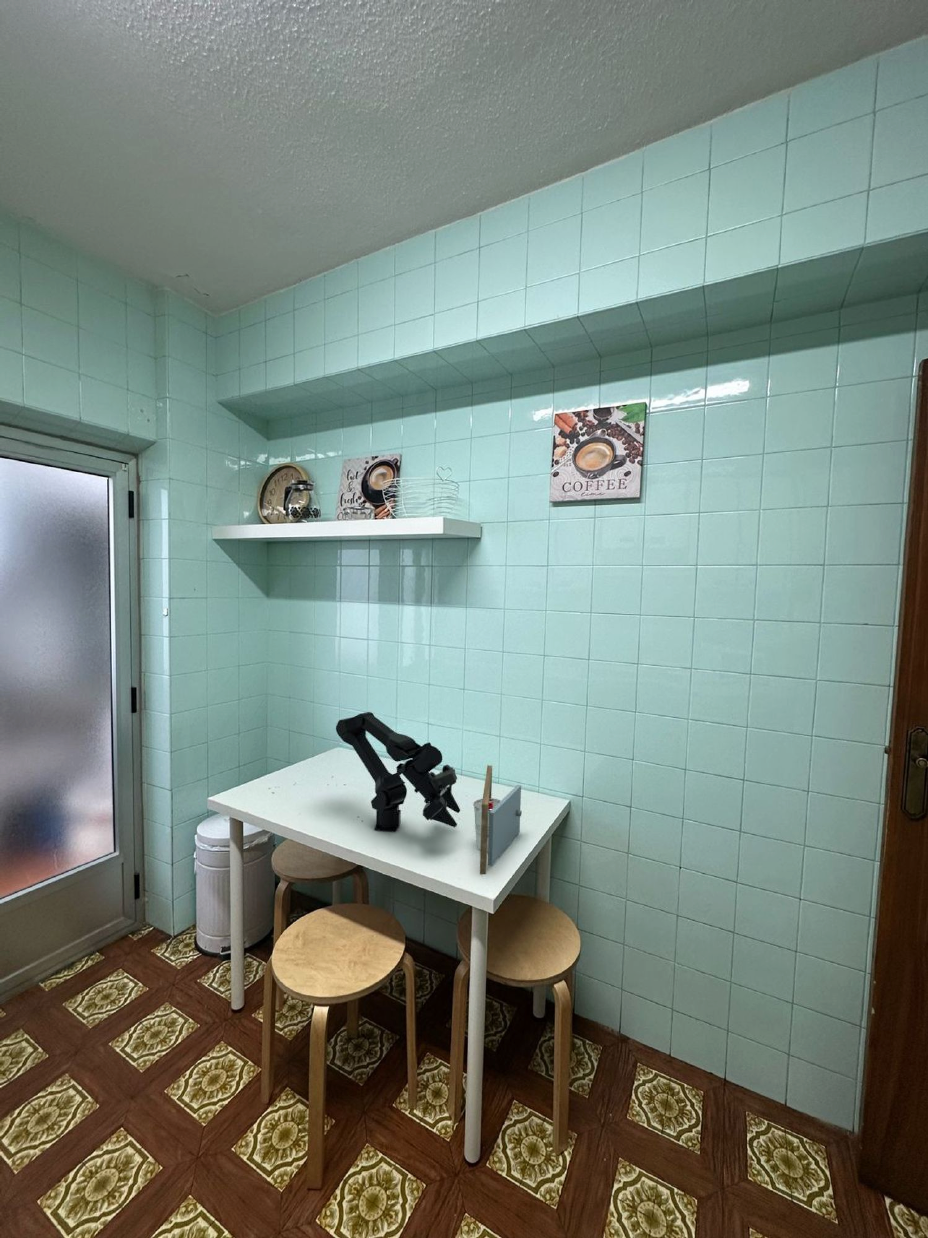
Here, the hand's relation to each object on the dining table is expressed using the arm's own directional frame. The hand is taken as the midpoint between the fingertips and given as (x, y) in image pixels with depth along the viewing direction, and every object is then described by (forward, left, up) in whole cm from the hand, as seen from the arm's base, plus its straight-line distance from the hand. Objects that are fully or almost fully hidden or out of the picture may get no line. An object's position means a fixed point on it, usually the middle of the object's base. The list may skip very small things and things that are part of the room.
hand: (457, 818), depth 145 cm
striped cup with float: (+9, -2, -7) cm, 12 cm away
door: (+14, -2, -6) cm, 16 cm away
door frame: (+8, -2, -6) cm, 11 cm away
